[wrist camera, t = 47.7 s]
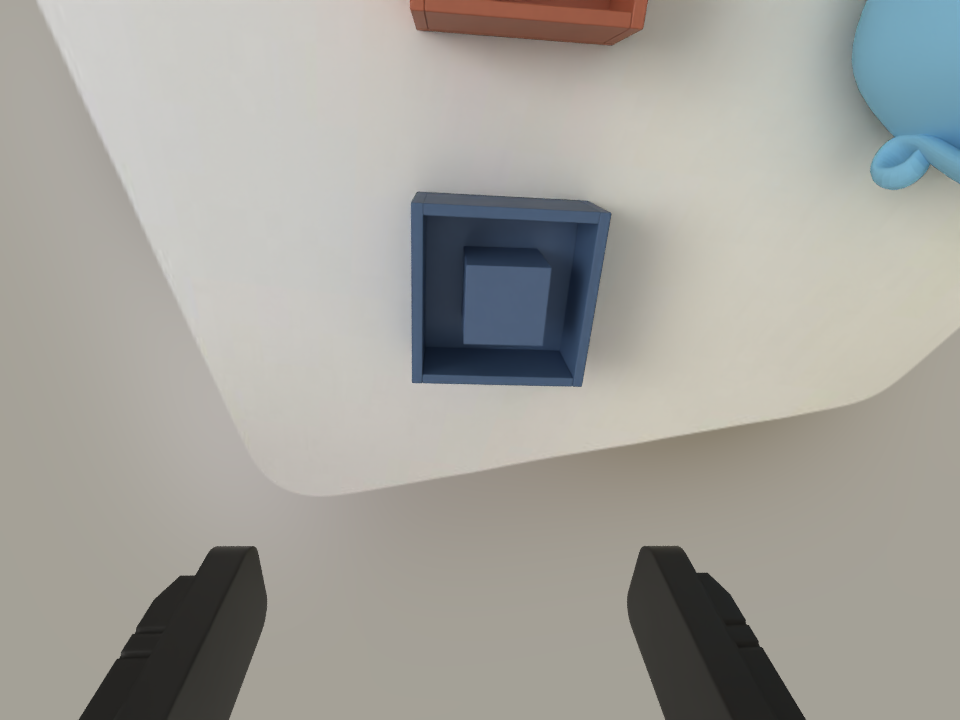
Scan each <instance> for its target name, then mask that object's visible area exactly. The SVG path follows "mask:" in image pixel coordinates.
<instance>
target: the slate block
mask: <svg viewBox="0 0 960 720" xmlns="http://www.w3.org/2000/svg"><path fill="white" fill-rule="evenodd" d="M551 271H552V268H551V266H550V265H549V264H548V262H547V261H546V260H545V258H544V257H543V256H542V254H541V253H540V252H539V250H538V249H533V248H506V247H478V246H464V257H463V286H462V315H461V316H462V331H463V344H480V345H527V346H543V340H544V331H545V323H546V314H547V306H548V297H549V288H550V280H551Z"/></svg>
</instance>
